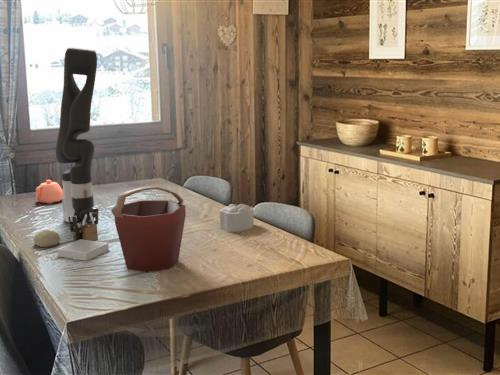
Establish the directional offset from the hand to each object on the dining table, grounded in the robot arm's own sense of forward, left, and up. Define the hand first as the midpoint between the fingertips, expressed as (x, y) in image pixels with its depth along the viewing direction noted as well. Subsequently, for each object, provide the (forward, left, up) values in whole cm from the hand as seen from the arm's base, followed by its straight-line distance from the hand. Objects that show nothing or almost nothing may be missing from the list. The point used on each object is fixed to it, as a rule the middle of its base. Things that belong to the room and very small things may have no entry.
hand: (85, 239), depth 221 cm
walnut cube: (0, 0, -1) cm, 1 cm away
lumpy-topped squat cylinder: (+44, +37, -1) cm, 57 cm away
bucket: (+35, -11, -1) cm, 37 cm away
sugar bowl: (-56, +43, -1) cm, 71 cm away
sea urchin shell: (-11, -8, -1) cm, 14 cm away
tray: (+8, -11, -1) cm, 14 cm away
